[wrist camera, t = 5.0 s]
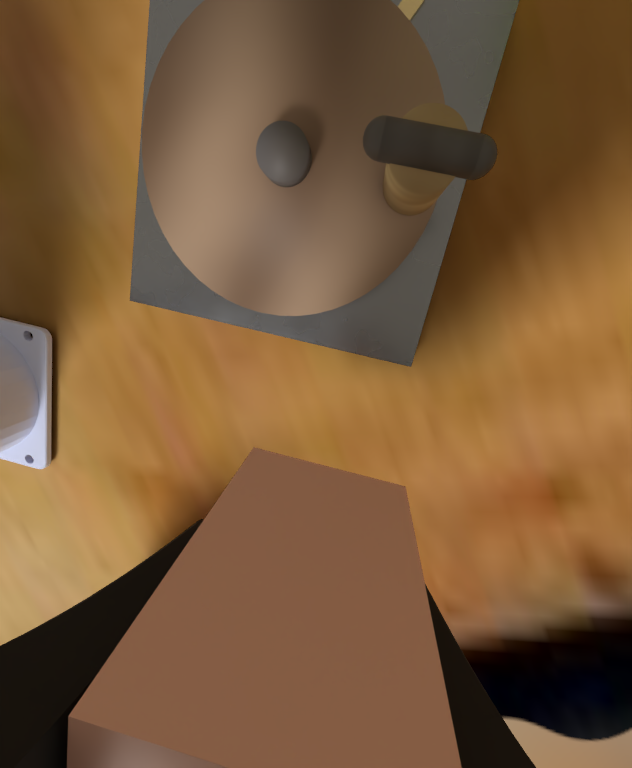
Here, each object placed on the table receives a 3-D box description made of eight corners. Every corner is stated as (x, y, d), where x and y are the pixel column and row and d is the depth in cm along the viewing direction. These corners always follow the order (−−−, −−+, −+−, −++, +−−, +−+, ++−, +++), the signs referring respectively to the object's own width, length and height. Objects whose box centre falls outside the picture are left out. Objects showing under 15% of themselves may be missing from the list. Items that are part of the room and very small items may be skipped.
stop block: (231, 569, 12) (61, 929, 5) (253, 447, 11) (67, 716, 4) (366, 607, 12) (368, 1041, 5) (405, 486, 10) (477, 846, 4)
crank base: (142, 299, 18) (128, 300, 17) (168, -40, 14) (152, -67, 13) (408, 362, 17) (411, 367, 16) (509, 17, 13) (521, -7, 12)
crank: (148, 282, 16) (51, 281, 11) (173, -31, 13) (55, -228, 8) (411, 343, 15) (433, 371, 10) (504, 24, 12) (599, -156, 7)
